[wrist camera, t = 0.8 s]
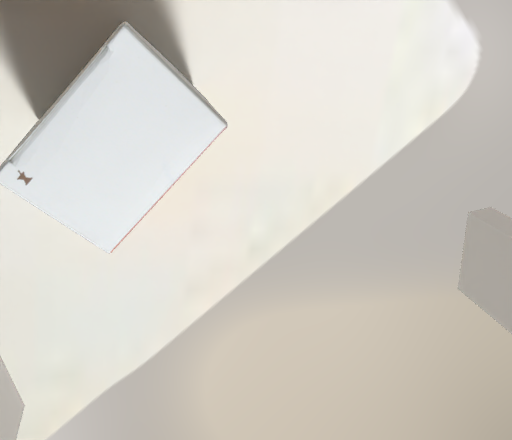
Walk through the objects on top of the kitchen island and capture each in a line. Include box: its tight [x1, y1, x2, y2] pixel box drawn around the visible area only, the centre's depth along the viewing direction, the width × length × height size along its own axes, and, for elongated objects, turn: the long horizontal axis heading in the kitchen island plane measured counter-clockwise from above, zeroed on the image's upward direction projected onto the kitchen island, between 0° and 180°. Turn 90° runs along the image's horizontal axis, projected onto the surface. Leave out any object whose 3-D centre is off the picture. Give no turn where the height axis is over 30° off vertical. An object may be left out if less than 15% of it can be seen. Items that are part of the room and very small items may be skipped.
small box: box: [0, 21, 227, 253], centre depth 22 cm, size 8×6×10 cm
